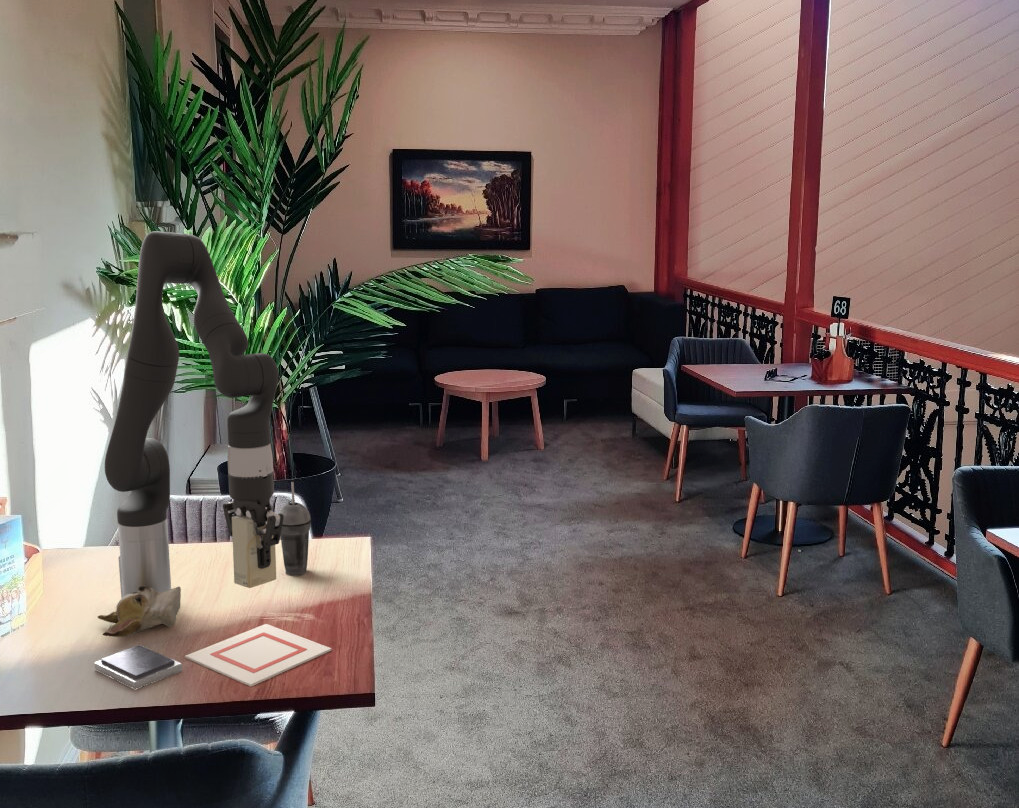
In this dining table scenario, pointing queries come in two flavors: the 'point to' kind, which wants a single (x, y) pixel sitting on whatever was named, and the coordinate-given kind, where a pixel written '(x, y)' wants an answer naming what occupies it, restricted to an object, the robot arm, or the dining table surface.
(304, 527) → the beverage cup
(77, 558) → the dining table surface
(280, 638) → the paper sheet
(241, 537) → the skincare box
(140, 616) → the ceramic sculpture
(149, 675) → the ink pad
